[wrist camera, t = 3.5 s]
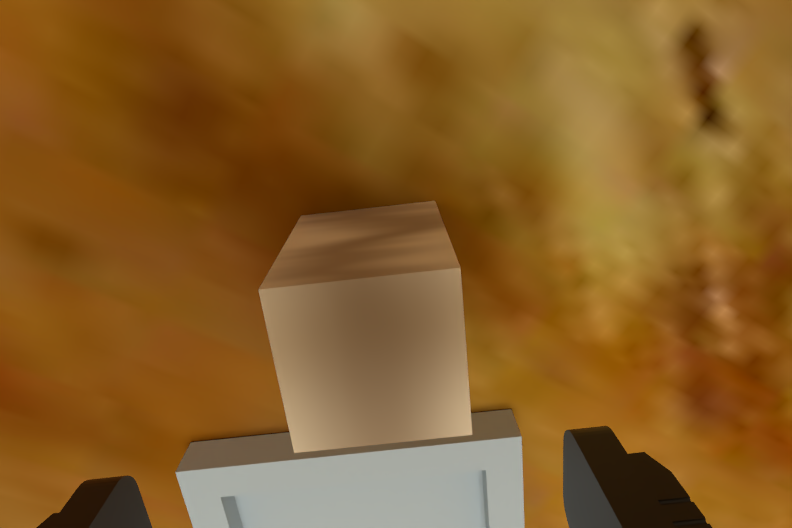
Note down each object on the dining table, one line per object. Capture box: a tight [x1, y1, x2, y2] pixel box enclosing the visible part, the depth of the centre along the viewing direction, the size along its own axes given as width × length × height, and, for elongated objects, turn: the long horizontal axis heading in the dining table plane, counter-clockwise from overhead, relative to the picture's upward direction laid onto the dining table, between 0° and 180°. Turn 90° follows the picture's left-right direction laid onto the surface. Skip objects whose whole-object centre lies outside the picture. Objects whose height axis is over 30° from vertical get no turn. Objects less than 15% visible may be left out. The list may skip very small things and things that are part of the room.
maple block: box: [258, 201, 472, 453], centre depth 17 cm, size 5×5×7 cm
